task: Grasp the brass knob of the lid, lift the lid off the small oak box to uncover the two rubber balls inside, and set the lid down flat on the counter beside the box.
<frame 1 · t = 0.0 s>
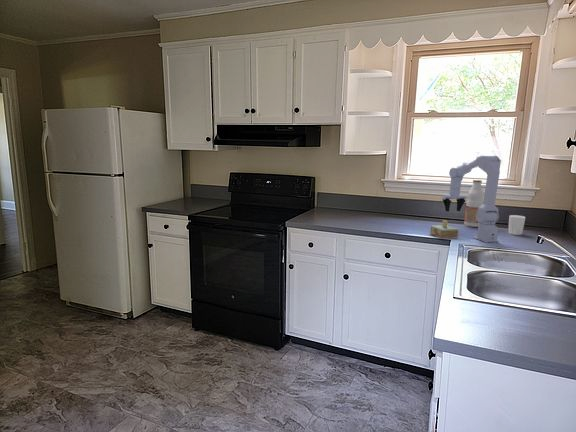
hand: (452, 211, 236), 10 cm above the worktop, tool pointing down, fingers open, 7 cm apart
orange ball: (446, 232, 215), point 2 cm above the worktop, touching box
fruit juice: (472, 225, 246), on the worktop
cream ball: (441, 231, 219), point 2 cm above the worktop, touching box
lid: (444, 228, 217), point 4 cm above the worktop, touching box
box: (443, 235, 218), on the worktop
white cup: (514, 234, 227), on the worktop
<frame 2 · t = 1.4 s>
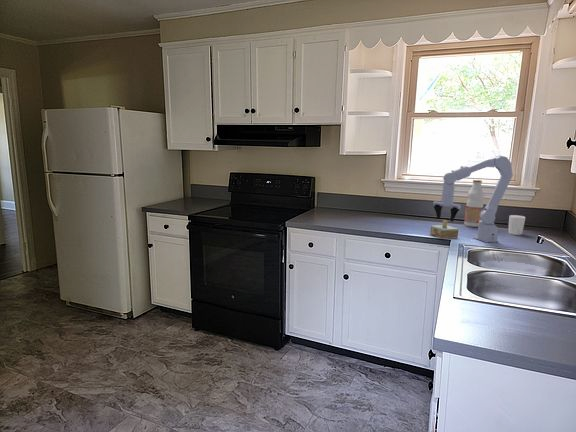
hand: (445, 220, 216), 9 cm above the worktop, tool pointing down, fingers open, 7 cm apart
nothing on the worktop moved.
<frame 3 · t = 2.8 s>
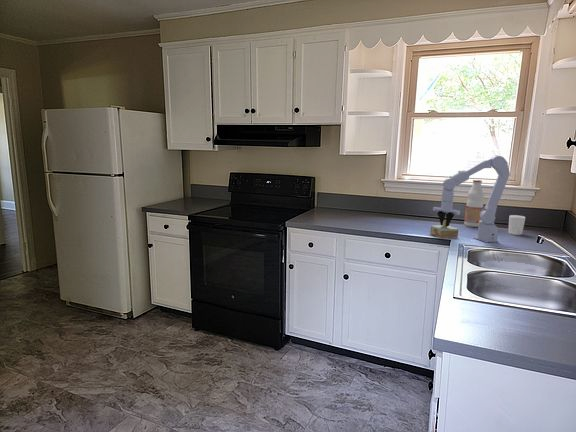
hand: (444, 225, 217), 6 cm above the worktop, tool pointing down, fingers closed on lid, 2 cm apart
lid: (444, 228, 217), point 4 cm above the worktop, touching box, gripper
everything else where it was.
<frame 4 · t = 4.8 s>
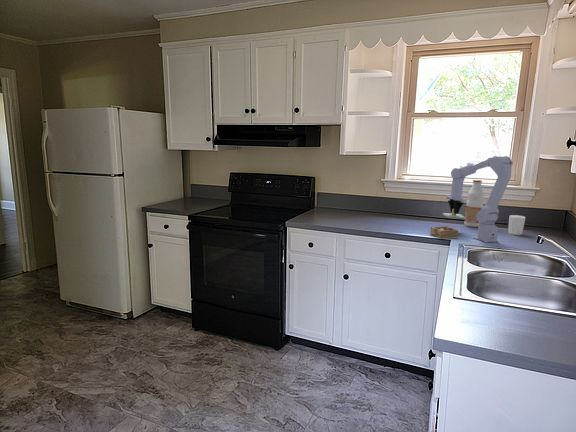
hand: (454, 213, 227), 10 cm above the worktop, tool pointing down, fingers closed on lid, 2 cm apart
lid: (453, 216, 227), point 9 cm above the worktop, touching gripper
everything else where it was.
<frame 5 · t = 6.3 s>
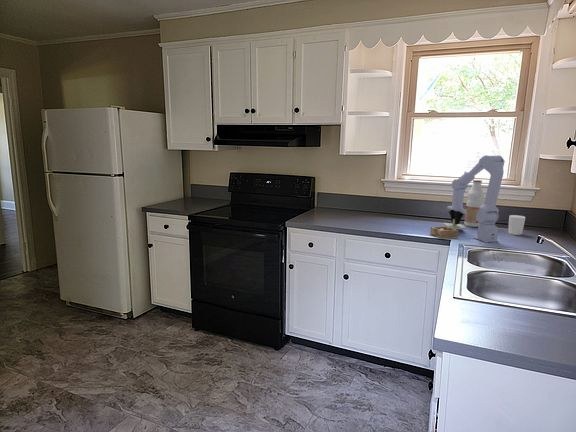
hand: (455, 223, 231), 4 cm above the worktop, tool pointing down, fingers closed on lid, 2 cm apart
lid: (454, 226, 231), point 2 cm above the worktop, touching gripper
everything else where it was.
when the fingers open (3 cm above the worktop, at t = 7.1 s): lid drops 2 cm, on the worktop.
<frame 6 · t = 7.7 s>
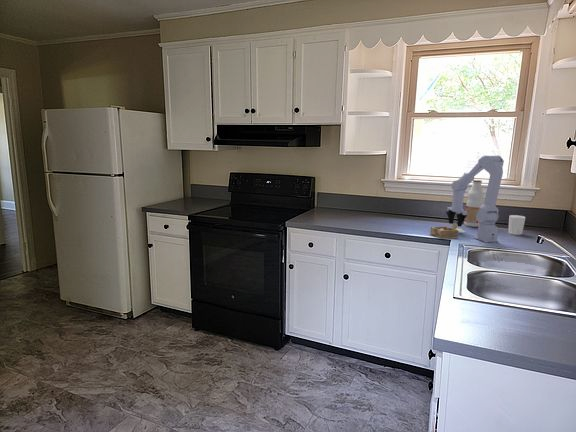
hand: (455, 224, 231), 3 cm above the worktop, tool pointing down, fingers open, 7 cm apart
lid: (453, 231, 232), on the worktop
everything else where it was.
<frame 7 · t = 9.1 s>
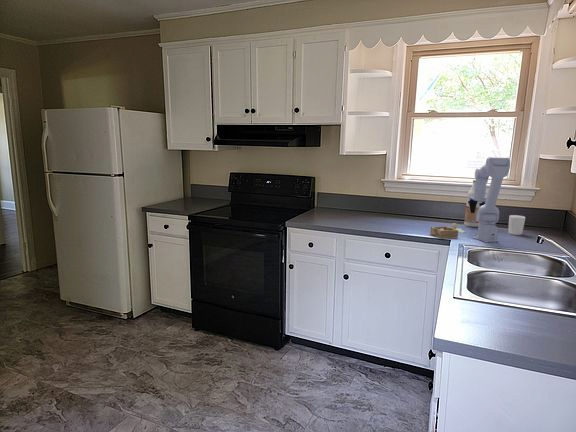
hand: (477, 214, 227), 10 cm above the worktop, tool pointing down, fingers open, 7 cm apart
nothing on the worktop moved.
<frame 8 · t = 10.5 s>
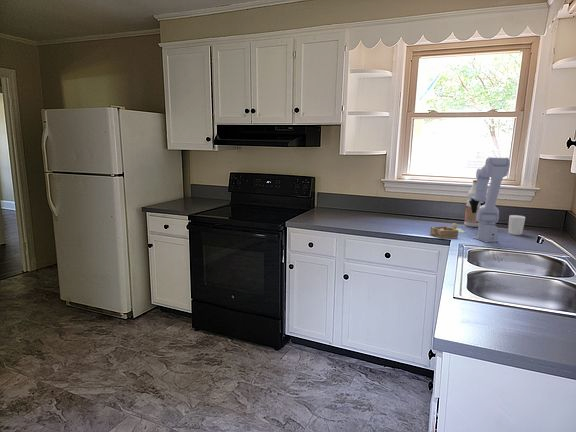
hand: (478, 214, 227), 10 cm above the worktop, tool pointing down, fingers open, 7 cm apart
nothing on the worktop moved.
at the end: lid inside the target area (0.4 cm from its centre), on the worktop; lid tilted 0°; the gripper is holding nothing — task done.
